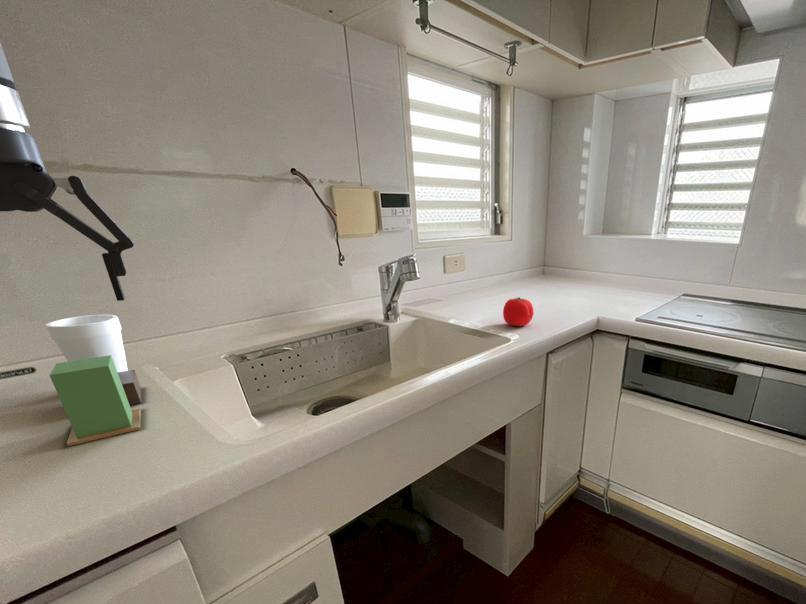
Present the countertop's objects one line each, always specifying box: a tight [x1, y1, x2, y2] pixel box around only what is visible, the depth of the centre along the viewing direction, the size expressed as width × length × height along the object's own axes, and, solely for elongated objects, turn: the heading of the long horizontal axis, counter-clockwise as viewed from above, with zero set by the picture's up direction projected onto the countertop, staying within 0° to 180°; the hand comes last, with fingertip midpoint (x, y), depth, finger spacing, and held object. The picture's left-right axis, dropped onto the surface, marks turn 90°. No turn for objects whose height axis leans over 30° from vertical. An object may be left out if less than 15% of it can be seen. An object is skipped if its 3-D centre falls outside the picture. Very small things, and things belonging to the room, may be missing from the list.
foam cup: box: [45, 313, 129, 373], centre depth 75 cm, size 10×9×13 cm
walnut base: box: [118, 369, 142, 406], centre depth 71 cm, size 8×8×4 cm
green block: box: [49, 355, 133, 438], centre depth 61 cm, size 6×6×10 cm
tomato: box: [502, 297, 535, 327], centre depth 122 cm, size 9×10×8 cm
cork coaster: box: [66, 408, 142, 447], centre depth 63 cm, size 8×8×1 cm
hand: (55, 304), depth 56 cm, fingers open, 13 cm apart
